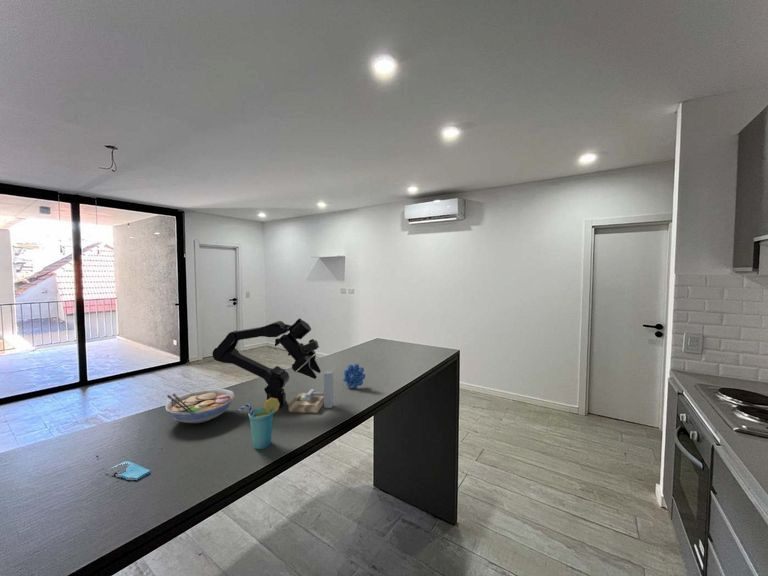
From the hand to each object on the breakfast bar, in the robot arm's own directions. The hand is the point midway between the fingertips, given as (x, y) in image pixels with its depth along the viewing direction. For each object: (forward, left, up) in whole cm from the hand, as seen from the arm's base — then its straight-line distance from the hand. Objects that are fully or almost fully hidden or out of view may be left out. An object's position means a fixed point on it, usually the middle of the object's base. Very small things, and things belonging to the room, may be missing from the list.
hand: (318, 375), depth 132 cm
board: (-4, -1, -13) cm, 13 cm away
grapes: (+11, +21, -13) cm, 27 cm away
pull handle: (+1, -1, -12) cm, 12 cm away
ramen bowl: (-40, -16, -13) cm, 45 cm away
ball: (-6, -1, -10) cm, 12 cm away
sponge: (-38, -49, -13) cm, 63 cm away
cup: (-9, -32, -13) cm, 36 cm away
